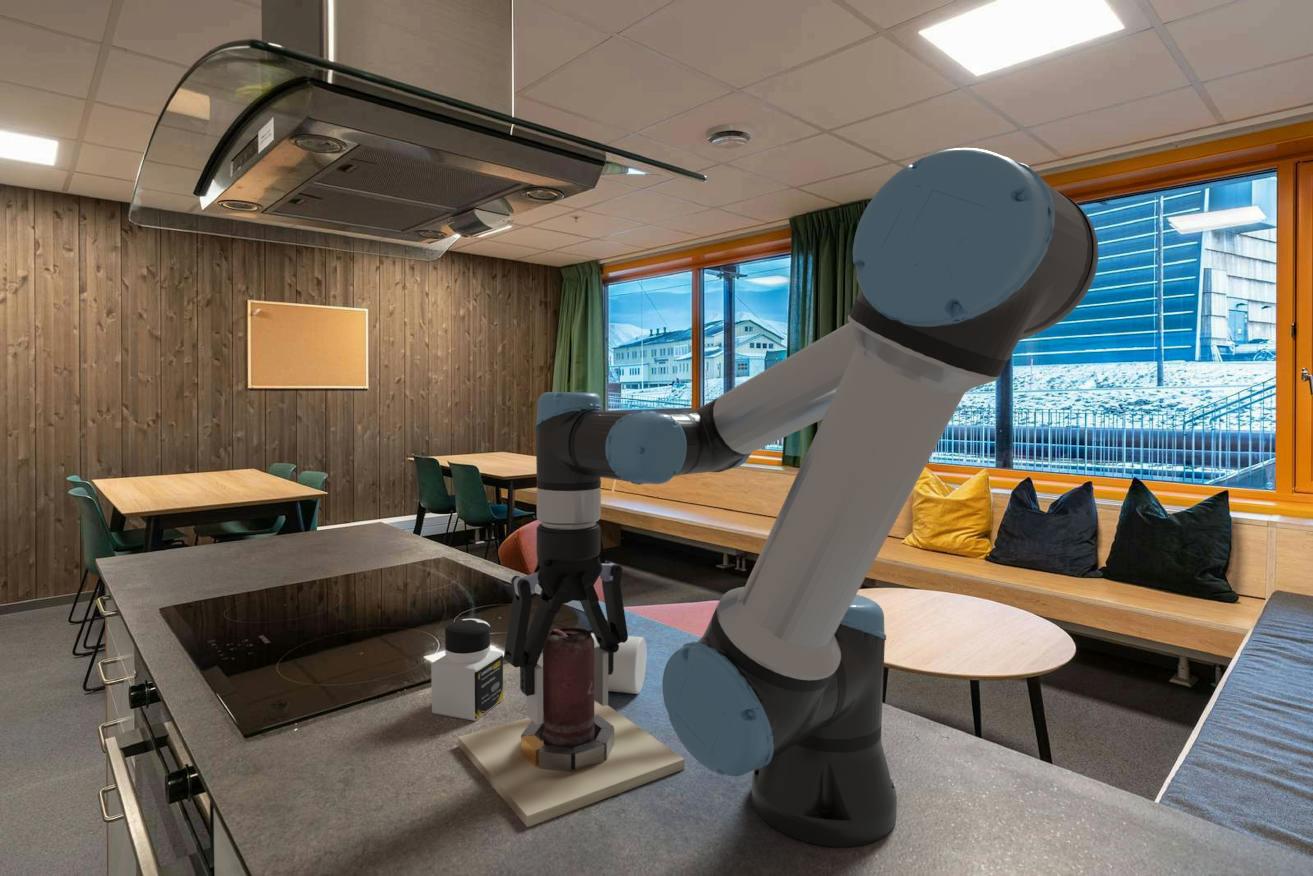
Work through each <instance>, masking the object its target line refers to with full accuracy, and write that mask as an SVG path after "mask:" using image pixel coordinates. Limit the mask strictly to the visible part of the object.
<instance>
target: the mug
mask: <svg viewBox="0 0 1313 876" xmlns="http://www.w3.org/2000/svg"><path fill="white" fill-rule="evenodd" d="M590 633H591V635H592V637H593V639H594V647H595V646H598V647H599V644H598V642H597V640H596V638H595V635H594V633H593V632H590ZM618 645H619V649H618V651H617V652H615V653H614V661H613V673H612V674H611V675H608V692H614V693H615V692H616V693H624V694H625V693H626V694H635V695H638V694H640V692H641V691H642V689H643V686H644V682H645V678H646V672H647V671H646V670H647V660H648V659H647V656H648V655H647V653H648V652H647V651H648V650H647V643H646V640H645V637H643V636H632V635H631V636H630V635H628V639H627V641H626V642H624V643H622V642H621V643H619V644H618Z"/></svg>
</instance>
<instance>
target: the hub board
mask: <svg viewBox="0 0 1313 876" xmlns="http://www.w3.org/2000/svg"><path fill="white" fill-rule="evenodd" d="M594 714H595V715H599V716H600V717H602V718H603V719H605V720H606V721H607V722H609V723H610V724H611V725H613V726H614V746H613V748H612V750H611V752H610V754H609V756H608V759H607V760H604V762H602V763H599V764H596V765H593V766H590V767H587V768H584V769H581V770H578V771H574V770H573V769H572V771H571V772H566V771H557V770H547V769H539V766H538V767H534V766H533V765H532V764H531V763H530V762H529V761H528V760H527V759H526V758H525V757H524V756H523V755H522V754H521V734H522V733H523V732H524V730H525V729H526V728H527V726H528V725H529V724H530V723H531V721H532V720H531V719H530V718H529V717H528V716H527V717H525V718H522V719H518V720H517V719H516V720H514V721H511V722H507V723H503V724H500V725H499V724H498V725H497V726H492V727H489V728H486V729H482V730H478V731H475V732H471V733H467V734H463V735H460V736H457V740H458V741H457V742H458V743H457V745H458V748H459V749H460V750H461V752H462V753H463V754H464V755H465V756H466V757H467V758H468V760H469V761H470V762H471V763H472V764H473V765H474V767H476V769H477V770H478V771H479V772H480V774H481V775H482V776H483V777H484V778H485V780H486V781H487V783H489V784H490V786H491V787H492V788H493V790H495V791H496V793H497V794H498V795H499V796H500V797H501V798H502V799H503V801H504V802H505V803H506V804H507V806H508V807H509V808H510V809H511V811H513V813H515V815H516V817H518V818H519V820H520V821H521V822H522V823H523V824H524V825H525V827H527V828H530V827H533V826H536V825H538V824H540V823H544V822H546V821H549V820H551V819H553V818H556V817H559V816H562V815H564V814H568V813H569V812H573V811H575V810H577V809H578V810H579V809H581V808H583V807H587V806H589V805H591V804H594V803H597V802H599V801H602V800H605V799H607V798H610V797H613V796H616V795H618V794H621V793H624V792H626V791H629V790H632V789H634V788H637V787H641V786H642V785H645V784H648V783H650V782H652V781H653V782H654V781H656V780H658V779H661V778H662V779H663V778H664V777H667V776H669V775H672V774H675V773H678V772H680V771H683V770H685V764H686V763H685V758H684V757H682V756H681V755H680V754H678V753H676V752H675V751H674V750H672V749H671V748H669V747H668V746H666V745H665V744H664V743H663V742H661V741H660V740H658V739H657V738H655V737H654V736H652V735H651V734H650V733H648V732H646V731H645V730H644V729H642V728H641V727H639V726H638V725H637V724H636V723H634V722H632V721H631V720H630V719H628V718H627V717H625V716H624V715H623V714H621V713H619V712H618V711H617V710H615V709H614V708H613V707H611V706H610V705H609V704H608V705H605V706H602V705H601V704H599V703H598V702H596V701H595V700H594ZM595 740H596V739H594V741H595ZM541 742H543V739H542V740H541Z"/></svg>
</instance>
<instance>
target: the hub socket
mask: <svg viewBox="0 0 1313 876" xmlns="http://www.w3.org/2000/svg"><path fill="white" fill-rule="evenodd" d="M542 739H543V723H542V724H538V725H537V724H536V723H534V722H533V721H531V723H530V724H529V725H528V726H527V728H526V729H525V730H524V732H523V733H522V734H521V754H522V755H523V756H524V757H525V758H526V759H527V760H528V761H529V762H530V763H531V764H532V765H533V766H534V767H538V766H539V769H547V770H557V771H566V772H571V771H572V769H573V770H574V771H578V770H581V769H584V768H587V767H590V766H593V765H596V764H599V763H602V762H604V760H607V759H608V756H609V754H610V752H611V750H612V748H613V746H614V726H613V725H611V724H610V723H609V722H607V721H606V720H605V719H603V718H602V717H600V716H599V715H595V714H594V739H596V740H595V741H592V742H589V743H586V744H583V745H580V746H577V747H573V748H566V747H556V746H546V745H545V744H544V743H543V742H541V740H542Z"/></svg>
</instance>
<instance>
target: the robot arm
mask: <svg viewBox="0 0 1313 876" xmlns="http://www.w3.org/2000/svg"><path fill="white" fill-rule="evenodd" d="M854 235H855V236H854V238H853V239H854V241H853V246H852V262H853V264H854V265H855V267H856V277H855V278H856V281H857V284H858V286H859V288H860V290H859V291H858V294H857V296H856V298H855V300H854V303H853V305H852V307H851V309H850V311H849V314H848V316H847V321H848V322H847V323H845V324H843V325H842V326H841V327H838V328H837V329H835V330H834V331H832V332H830V333H828V334H827V335H824V336H823V337H821V338H819V339H817V340H816V341H814V342H812V343H811V344H809V345H807V346H805V347H803V348H802V349H800V350H798V351H797V352H794V353H793V354H792V355H789V356H787V357H786V358H784V359H782V360H781V361H779V362H777V363H775V364H773V365H772V366H770V367H768V368H767V369H765V370H763V371H762V372H760V373H757V374H756V375H754V376H753V377H751V378H749V379H747V380H746V381H744V382H742V383H741V384H739V385H737V386H735V387H733V388H732V389H730V390H728V391H726V392H725V393H723V394H721V395H720V396H719V397H716V398H715V399H713V400H711V401H709V402H707V403H705V404H703V405H702V406H700V407H698V408H696V409H695V408H694V409H673V410H603V408H602V399H601V396H600V395H599V394H598V393H597V392H577V391H576V392H574V391H573V392H570V391H569V392H568V391H567V392H565V391H563V392H562V391H561V392H560V391H558V392H556V391H555V392H552V391H546V392H543V393H542V394H541V395H540V396H539V397H538V399H537V407H536V408H537V409H536V410H537V411H536V422H535V426H534V430H535V448H536V450H535V452H536V453H535V454H536V455H535V457H536V520H537V521H538V522H540V524H539V525H537V527H536V559H537V563H536V566H535V569H534V571H533V573H530V574H527V575H525V576H520V575H515V576H513V577H512V578H511V580H510V583H511V589H512V596H513V597H512V603H511V609H510V616H509V622H508V628H507V635H506V640H505V648H504V653H503V660H504V661H506V662H507V663H509V664H510V665H511V666H512V667H514V668H519V676H520V677H519V678H520V679H519V683H520V684H519V689H520V691H521V692H522V694H523V695H525V696H526V717H527V718H528V717H529V718H530V719H531V720H532V721H533V722H534V723H536V724H537V725H538V724H542V723H543V666H540V664H538V662H539V659H540V656H541V654H542V653H543V647H544V644H545V641H546V639H547V636H548V633H549V632H551V628H552V625H553V622H554V620H555V617H556V615H557V613H559V612H560V610H561V608H562V606H563V605H565V604H568V603H570V602H572V601H576V602H579V603H580V604H581V607H582V610H583V611H584V613H585V617H586V619H587V620H588V622H589V625H590V628H591V630H592V633H594V635H595V638H596V640H597V642H598V644H599V647H598V646H595V647H594V700H595V701H596V702H598V703H599V704H601V705H602V706H605V705H608V706H609V691H608V675H611V674H612V673H613V661H614V653H615V652H617V651H618V649H619V645H618V644H619V643H621V642H622V643H624V642H626V641H627V639H628V636H629V635H628V634H629V633H628V628H627V622H626V621H627V620H626V614H625V608H624V601H623V594H622V588H621V580H622V574H623V568H622V566H621V565H619V564H617V563H613V562H611V561H607V562H605V563H601V560H600V556H599V555H600V552H601V526H600V524H598V523H597V522H599V520H600V519H601V518H602V513H601V512H602V505H601V500H602V499H601V497H602V495H601V493H602V492H601V486H602V480H601V478H603V479H610V480H617V481H622V482H623V481H624V482H627V483H628V482H630V483H631V484H633V485H644V484H645V485H646V484H649V485H650V484H651V485H661V484H666V483H668V482H670V480H671V479H672V478H674V477H678V476H683V475H684V476H685V475H693V474H702V473H722V472H725V471H727V470H728V471H729V470H731V469H735V468H738V467H740V466H742V465H743V464H745V463H746V462H747V461H748V459H749V457H750V456H751V455H752V453H753V452H756V451H758V450H760V449H763V448H764V447H767V446H769V445H772V444H773V443H775V442H777V441H779V440H781V439H783V438H785V437H787V436H790V435H792V434H794V433H796V432H798V431H800V430H802V429H804V428H807V427H808V426H810V425H812V424H815V423H817V422H819V421H821V422H820V425H819V427H818V429H817V430H816V432H815V435H814V437H813V440H812V442H811V444H810V445H809V446H810V447H809V448H808V450H807V452H806V454H805V457H804V459H803V461H802V463H801V465H800V467H799V470H798V472H797V474H796V476H795V478H794V480H793V483H792V485H791V487H790V489H789V492H788V493H787V495H786V497H785V499H784V502H783V504H782V506H781V508H780V510H779V512H778V514H777V517H776V518H775V521H774V523H773V526H772V527H771V529H770V532H769V534H768V536H767V539H766V541H765V543H764V545H763V547H762V549H761V550H760V551H761V552H760V554H759V555H758V557H757V560H756V562H755V564H754V565H753V566H754V567H753V568H752V570H751V573H750V575H749V576H748V579H747V580H746V584H745V586H740V587H736V588H733V589H729V590H728V591H727V592H725V593H723V595H722V597H721V598H720V599H719V601H718V603H717V605H716V608H715V610H714V611H713V614H712V616H711V618H710V621H709V623H708V625H707V627H706V630H705V631H704V634H703V635H702V636H701V638H699V640H697V641H691V642H687V643H685V644H683V645H682V647H681V648H679V649H678V650H676V651H675V652H673V654H672V655H671V656H670V657H669V658H668V660H667V662H666V664H665V667H664V671H663V675H662V695H663V703H664V706H665V709H666V711H667V713H668V717H669V718H668V719H669V720H668V721H669V722H670V725H671V727H672V728H673V731H674V732H675V734H676V736H677V738H678V739H679V741H680V743H681V744H682V745H683V747H684V748H685V749H686V751H687V752H688V753H689V754H690V756H692V758H694V759H695V760H696V761H697V762H698V763H700V765H702V766H703V767H705V768H707V769H708V770H710V771H711V772H714V773H716V774H718V775H723V776H724V775H726V776H728V777H729V776H731V777H739V776H740V777H741V776H744V775H747V774H748V773H750V772H752V771H753V773H752V778H751V802H752V804H753V807H754V809H755V811H756V812H757V814H758V815H759V816H760V817H761V818H762V819H763V820H764V822H766V823H767V824H769V826H771V827H773V828H774V829H776V830H777V831H779V832H781V833H783V834H784V835H787V836H789V837H791V838H794V839H797V840H800V841H803V842H806V843H810V844H814V845H815V844H816V845H821V846H825V847H827V846H828V847H845V848H846V847H856V846H862V845H866V844H870V843H873V842H876V841H878V840H880V839H882V838H884V837H885V836H886V835H888V834H889V833H890V832H891V831H892V830H893V828H894V826H895V825H896V821H897V810H898V809H897V808H898V806H897V805H898V797H897V790H896V787H895V785H894V781H893V780H892V779H891V774H890V770H889V765H888V762H887V759H886V755H885V751H884V747H883V742H882V721H883V718H882V717H883V699H884V697H883V696H884V670H885V669H884V668H885V650H886V648H885V647H886V641H887V635H886V632H885V615H884V610H883V609H882V607H881V606H880V604H878V602H875V601H874V600H872V599H871V598H869V597H866V596H863V595H860V594H857V593H858V592H859V590H860V588H861V586H862V584H863V583H864V580H865V579H866V577H867V575H868V573H869V571H870V570H871V568H872V566H873V563H874V562H875V560H876V558H877V557H878V554H879V553H880V550H881V549H882V548H883V545H884V543H885V542H886V540H887V538H888V536H889V534H890V532H891V530H892V528H893V527H894V525H895V523H896V521H897V519H898V517H899V515H900V514H901V511H902V510H903V508H904V507H905V504H906V503H907V501H908V500H909V497H910V495H911V493H912V491H914V488H915V486H916V484H917V482H918V480H919V478H920V476H921V475H922V473H923V471H924V470H925V467H926V465H927V463H928V462H929V460H930V459H931V456H932V454H933V452H934V451H935V449H936V447H937V445H938V443H939V441H940V439H941V437H942V436H943V434H944V432H945V431H946V428H947V427H948V425H949V424H950V421H951V419H952V417H953V416H954V414H955V412H956V410H957V408H958V407H959V404H960V403H961V400H962V398H963V397H964V395H965V394H966V393H967V392H969V391H970V390H972V389H975V388H978V387H980V386H983V385H986V384H991V383H992V382H995V381H997V380H998V379H999V377H1000V376H1001V374H1002V372H1003V371H1004V368H1005V367H1006V366H1007V363H1008V362H1009V359H1010V358H1011V356H1012V355H1013V352H1014V351H1015V349H1016V347H1017V345H1018V343H1019V342H1020V341H1023V340H1025V339H1027V338H1029V337H1032V336H1034V335H1037V334H1040V333H1042V332H1044V331H1046V330H1048V329H1050V328H1052V327H1054V326H1055V325H1057V324H1058V323H1060V322H1061V321H1063V320H1064V319H1065V318H1066V317H1067V316H1069V315H1070V314H1071V313H1073V311H1075V309H1077V307H1078V306H1079V304H1080V303H1081V302H1082V301H1083V300H1084V298H1085V297H1086V295H1087V293H1088V292H1089V290H1090V289H1091V287H1092V285H1093V282H1094V280H1095V277H1096V274H1097V270H1098V268H1097V267H1098V265H1099V264H1098V262H1099V241H1098V237H1097V234H1096V230H1095V227H1094V225H1093V223H1092V220H1091V219H1090V218H1089V216H1088V214H1087V213H1086V211H1084V210H1083V208H1082V207H1081V206H1080V205H1079V204H1078V203H1076V202H1075V201H1074V199H1072V198H1070V197H1068V196H1067V195H1065V194H1064V193H1062V192H1060V191H1058V190H1057V189H1055V188H1054V187H1053V186H1052V185H1050V184H1049V183H1047V182H1046V181H1045V180H1044V179H1043V178H1042V177H1041V176H1040V175H1039V174H1038V173H1037V172H1036V171H1034V169H1032V167H1030V166H1028V165H1027V164H1025V163H1021V162H1019V161H1015V160H1013V159H1012V158H1010V157H1008V156H1004V155H1001V154H998V153H996V152H993V151H989V150H987V149H981V148H973V147H971V148H970V147H961V148H960V147H958V148H949V149H944V150H940V151H937V152H933V153H930V154H928V155H926V156H924V157H922V158H919V159H918V160H916V161H914V162H913V163H911V164H908V165H906V166H903V168H901V169H900V170H899V171H898V172H896V173H895V174H894V175H892V176H891V177H890V178H889V179H888V180H886V182H885V183H884V184H883V185H882V186H881V187H880V188H879V189H878V190H877V192H876V193H875V195H874V196H873V197H872V198H871V200H870V201H869V203H868V204H867V206H866V207H865V210H864V211H863V213H862V215H861V217H860V220H859V222H858V225H857V228H856V231H855V234H854ZM598 578H600V580H601V587H602V593H603V598H604V606H605V612H606V617H605V614H604V612H603V610H602V608H601V605H600V602H599V601H600V599H599V595H598V594H597V591H596V589H595V586H594V585H595V584H596V583H597V580H598ZM537 585H538V586H539V587H540V589H541V591H540V593H539V597H538V598H537V599H538V600H537V608H536V611H535V613H534V616H533V619H532V621H531V623H530V626H529V622H530V617H531V611H532V604H533V603H532V602H533V600H532V599H533V598H532V595H534V594H535V592H536V591H535V590H536V589H535V588H536V586H537ZM606 618H607V619H606Z"/></svg>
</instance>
